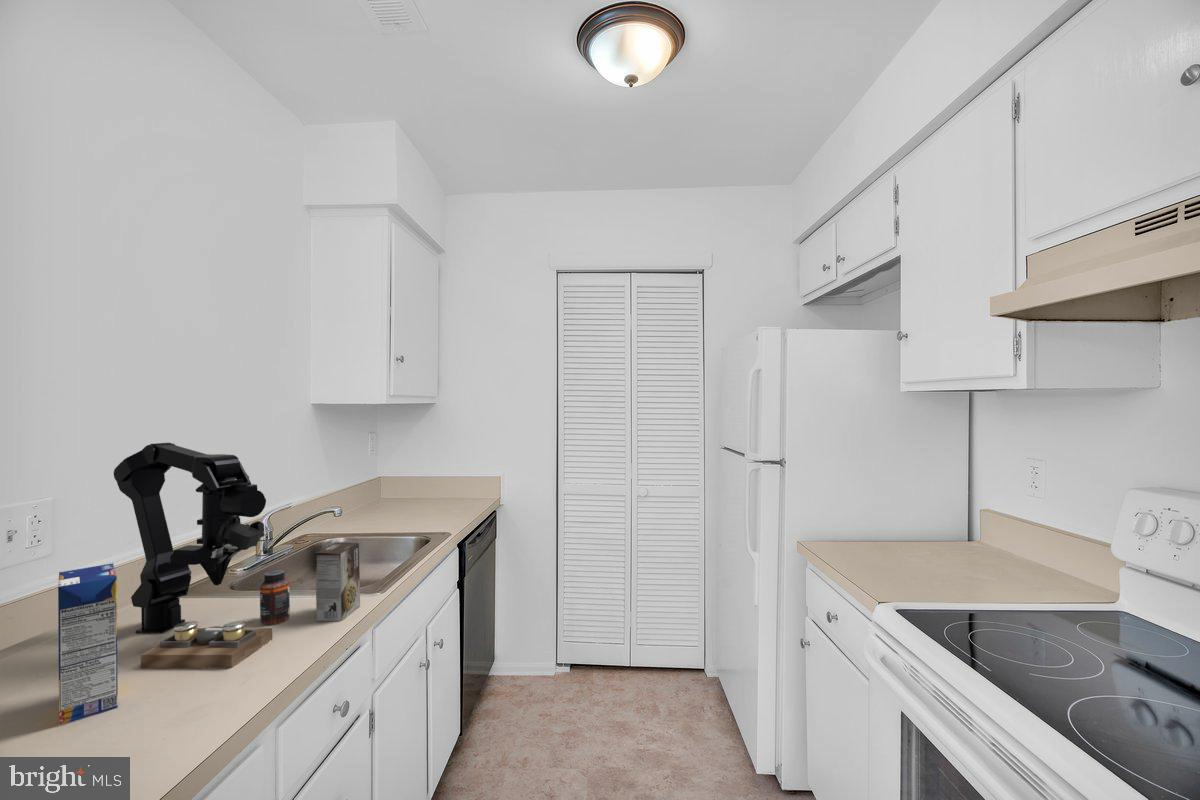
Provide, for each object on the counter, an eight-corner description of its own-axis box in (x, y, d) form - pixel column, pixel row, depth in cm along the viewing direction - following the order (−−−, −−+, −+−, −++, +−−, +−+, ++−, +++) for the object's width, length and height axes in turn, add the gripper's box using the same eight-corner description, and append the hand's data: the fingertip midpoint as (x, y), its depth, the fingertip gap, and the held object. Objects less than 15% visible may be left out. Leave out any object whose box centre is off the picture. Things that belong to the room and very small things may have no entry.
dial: (190, 644, 105) (190, 633, 105) (207, 634, 109) (207, 624, 109) (213, 644, 105) (213, 633, 105) (229, 634, 109) (229, 624, 109)
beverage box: (59, 726, 83) (58, 587, 83) (59, 699, 91) (59, 572, 91) (117, 707, 88) (116, 576, 88) (113, 683, 95) (112, 563, 96)
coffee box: (335, 606, 131) (335, 541, 131) (361, 606, 131) (360, 541, 131) (314, 621, 122) (314, 552, 122) (341, 621, 122) (341, 552, 122)
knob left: (169, 656, 105) (169, 628, 105) (184, 647, 109) (184, 621, 109) (187, 656, 105) (187, 628, 105) (202, 647, 109) (202, 621, 109)
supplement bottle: (295, 615, 126) (295, 568, 126) (278, 626, 120) (277, 576, 120) (272, 615, 126) (272, 568, 126) (253, 625, 120) (253, 576, 120)
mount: (140, 667, 101) (140, 649, 101) (190, 639, 113) (190, 623, 113) (231, 667, 101) (231, 649, 101) (272, 639, 113) (272, 623, 113)
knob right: (217, 656, 105) (217, 628, 105) (231, 647, 109) (231, 620, 109) (236, 656, 105) (236, 628, 105) (249, 647, 109) (249, 620, 109)
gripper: (221, 524, 105) (220, 602, 105) (282, 505, 123) (281, 571, 123) (167, 523, 105) (166, 600, 105) (236, 504, 124) (235, 570, 124)
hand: (217, 584), depth 114 cm, fingers closed
